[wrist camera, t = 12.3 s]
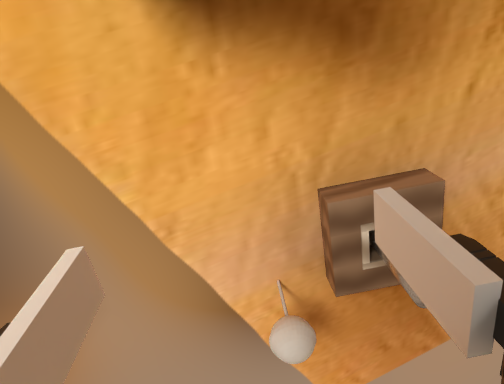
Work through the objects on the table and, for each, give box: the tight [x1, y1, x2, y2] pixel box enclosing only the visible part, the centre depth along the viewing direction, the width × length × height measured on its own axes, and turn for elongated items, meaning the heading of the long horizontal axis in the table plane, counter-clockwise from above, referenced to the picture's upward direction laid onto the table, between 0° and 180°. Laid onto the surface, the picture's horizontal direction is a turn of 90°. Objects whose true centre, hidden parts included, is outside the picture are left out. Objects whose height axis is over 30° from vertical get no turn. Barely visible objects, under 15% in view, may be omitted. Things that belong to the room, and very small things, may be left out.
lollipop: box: [269, 280, 316, 364], centre depth 49 cm, size 6×6×15 cm
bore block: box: [318, 168, 445, 297], centre depth 51 cm, size 16×16×5 cm
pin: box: [369, 230, 427, 308], centre depth 45 cm, size 4×4×15 cm
